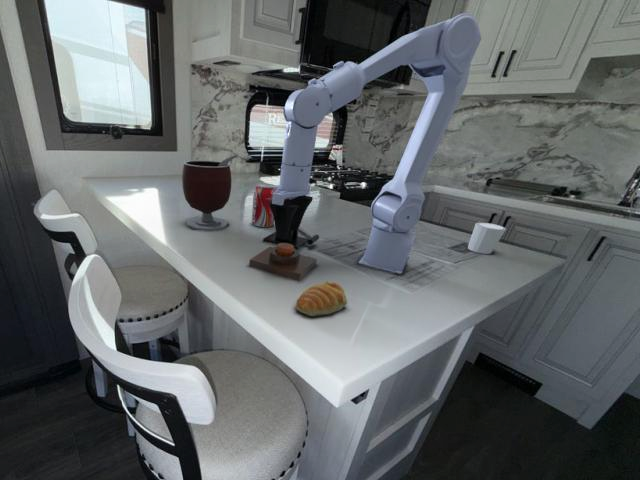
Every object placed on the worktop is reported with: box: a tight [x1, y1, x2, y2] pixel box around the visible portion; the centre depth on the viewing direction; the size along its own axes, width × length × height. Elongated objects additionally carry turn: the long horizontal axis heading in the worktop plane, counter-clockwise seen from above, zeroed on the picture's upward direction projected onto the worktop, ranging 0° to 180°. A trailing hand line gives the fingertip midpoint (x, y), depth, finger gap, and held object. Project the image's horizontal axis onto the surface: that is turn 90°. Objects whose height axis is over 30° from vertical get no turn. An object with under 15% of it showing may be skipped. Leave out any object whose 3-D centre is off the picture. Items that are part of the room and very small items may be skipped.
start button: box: [276, 243, 294, 255], centre depth 67 cm, size 4×4×2 cm
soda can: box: [251, 182, 277, 228], centre depth 92 cm, size 7×7×12 cm
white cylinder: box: [467, 222, 507, 255], centre depth 84 cm, size 7×7×7 cm
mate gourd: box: [181, 153, 239, 231], centre depth 88 cm, size 16×14×20 cm
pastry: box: [295, 281, 348, 317], centre depth 54 cm, size 9×7×4 cm
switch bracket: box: [262, 229, 309, 251], centre depth 81 cm, size 10×8×7 cm
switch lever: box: [297, 226, 320, 246], centre depth 80 cm, size 10×5×2 cm, turn 59°
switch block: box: [248, 246, 318, 282], centre depth 68 cm, size 12×10×4 cm
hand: (287, 233), depth 65 cm, fingers open, 5 cm apart
